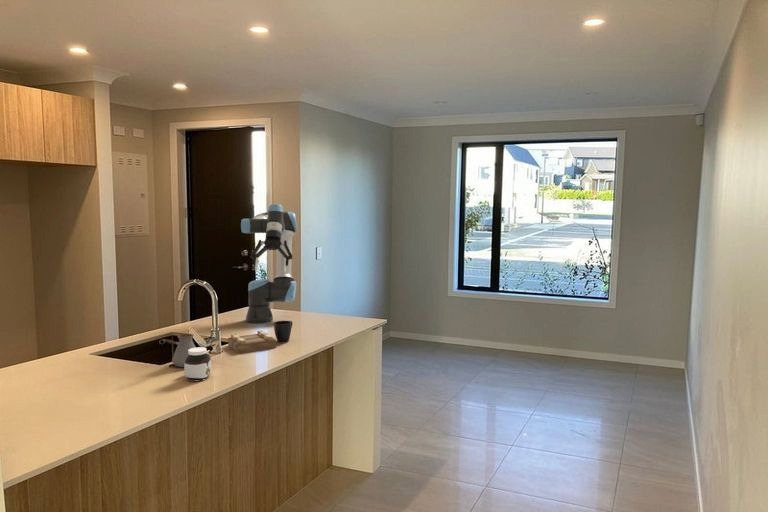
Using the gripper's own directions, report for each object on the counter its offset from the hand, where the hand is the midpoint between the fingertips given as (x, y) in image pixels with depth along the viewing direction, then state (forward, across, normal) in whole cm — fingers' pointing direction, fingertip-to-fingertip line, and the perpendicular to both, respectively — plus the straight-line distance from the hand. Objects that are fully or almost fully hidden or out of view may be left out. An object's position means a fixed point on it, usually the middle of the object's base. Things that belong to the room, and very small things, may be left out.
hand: (270, 271), depth 280 cm
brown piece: (+35, -7, +10) cm, 37 cm away
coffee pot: (+53, -31, -17) cm, 64 cm away
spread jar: (+60, -21, -27) cm, 69 cm away
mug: (+29, +8, +20) cm, 36 cm away
